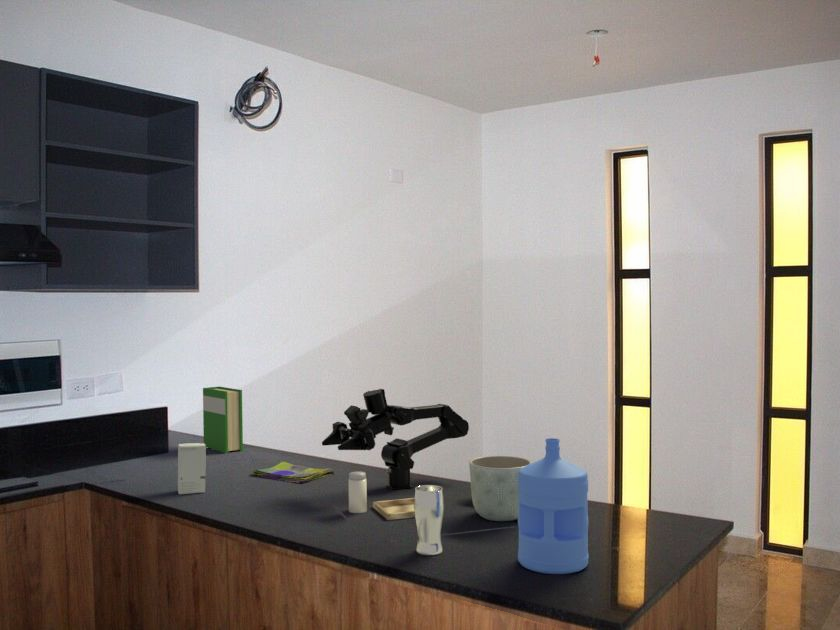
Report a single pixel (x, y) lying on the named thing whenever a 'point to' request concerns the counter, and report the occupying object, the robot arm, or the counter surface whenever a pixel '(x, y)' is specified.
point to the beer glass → (429, 518)
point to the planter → (496, 486)
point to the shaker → (357, 492)
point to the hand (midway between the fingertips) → (330, 446)
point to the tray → (396, 508)
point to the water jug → (553, 514)
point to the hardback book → (222, 419)
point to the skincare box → (191, 468)
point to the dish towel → (292, 473)
